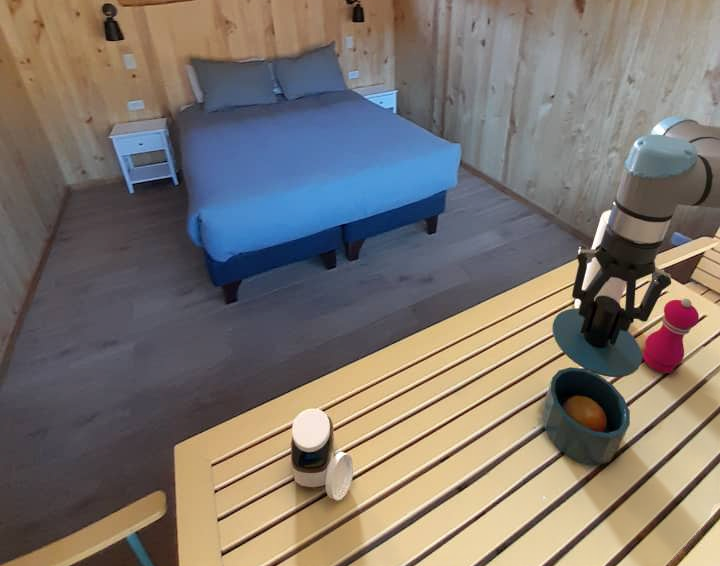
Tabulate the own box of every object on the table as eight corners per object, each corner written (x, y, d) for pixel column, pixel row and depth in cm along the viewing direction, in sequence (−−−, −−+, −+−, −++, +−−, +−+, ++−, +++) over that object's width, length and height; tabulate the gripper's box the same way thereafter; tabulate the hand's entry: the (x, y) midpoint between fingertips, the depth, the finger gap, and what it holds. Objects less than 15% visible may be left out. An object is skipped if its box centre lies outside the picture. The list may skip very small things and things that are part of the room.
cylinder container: (605, 330, 103) (640, 236, 89) (568, 308, 109) (595, 218, 96) (619, 310, 108) (653, 219, 95) (583, 291, 115) (610, 203, 101)
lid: (639, 330, 77) (655, 292, 72) (641, 394, 66) (660, 353, 61) (556, 302, 84) (567, 265, 79) (546, 355, 73) (557, 316, 68)
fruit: (591, 461, 75) (581, 419, 75) (558, 438, 82) (549, 400, 82) (621, 443, 77) (611, 402, 78) (586, 422, 85) (577, 384, 85)
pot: (616, 415, 84) (629, 387, 80) (615, 481, 74) (630, 452, 69) (547, 385, 90) (555, 357, 86) (536, 441, 80) (546, 412, 76)
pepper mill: (633, 354, 97) (659, 293, 88) (652, 344, 99) (680, 283, 90) (663, 380, 91) (695, 317, 82) (683, 368, 93) (716, 306, 84)
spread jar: (300, 434, 82) (294, 399, 77) (355, 435, 81) (353, 400, 76) (288, 506, 71) (281, 471, 66) (352, 508, 71) (350, 472, 65)
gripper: (698, 234, 62) (651, 338, 73) (576, 204, 70) (550, 302, 81) (705, 262, 56) (654, 371, 67) (572, 227, 64) (544, 329, 75)
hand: (597, 333), depth 74 cm, fingers closed on lid, 4 cm apart
